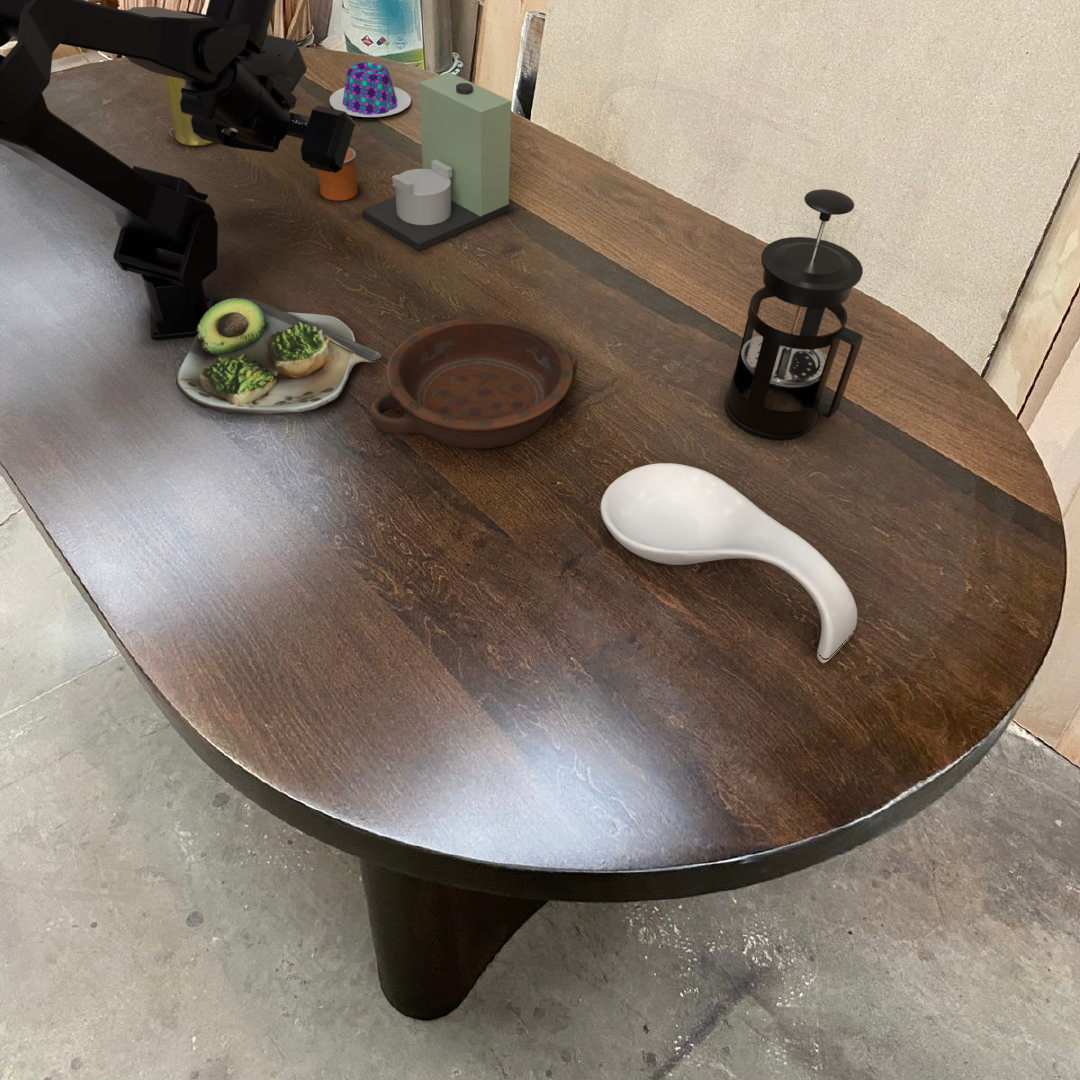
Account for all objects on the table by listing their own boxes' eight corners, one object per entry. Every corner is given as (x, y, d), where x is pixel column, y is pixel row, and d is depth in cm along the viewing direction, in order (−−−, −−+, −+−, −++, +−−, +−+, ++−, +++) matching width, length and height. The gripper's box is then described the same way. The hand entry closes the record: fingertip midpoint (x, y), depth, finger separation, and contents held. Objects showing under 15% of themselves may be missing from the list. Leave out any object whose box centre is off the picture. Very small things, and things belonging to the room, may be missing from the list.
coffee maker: (419, 251, 116) (413, 130, 105) (362, 216, 121) (351, 98, 110) (508, 211, 123) (511, 95, 113) (451, 180, 129) (449, 66, 118)
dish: (620, 425, 95) (626, 385, 92) (417, 497, 87) (415, 455, 83) (532, 333, 105) (534, 293, 102) (342, 390, 97) (337, 348, 93)
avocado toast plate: (395, 325, 105) (392, 288, 102) (363, 431, 93) (359, 393, 89) (218, 310, 105) (210, 272, 102) (164, 414, 93) (152, 375, 89)
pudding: (425, 99, 146) (424, 63, 142) (385, 128, 138) (382, 91, 134) (357, 82, 149) (354, 46, 145) (314, 110, 141) (309, 73, 137)
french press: (700, 408, 98) (747, 194, 81) (748, 368, 103) (802, 158, 86) (802, 461, 93) (874, 245, 76) (847, 416, 98) (924, 204, 81)
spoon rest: (571, 536, 84) (577, 476, 79) (652, 472, 91) (663, 413, 85) (802, 694, 74) (827, 637, 69) (876, 609, 80) (904, 551, 75)
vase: (201, 123, 137) (178, 15, 126) (230, 136, 134) (210, 27, 124) (166, 137, 133) (140, 27, 123) (196, 151, 131) (172, 39, 120)
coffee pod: (366, 194, 125) (363, 157, 121) (331, 205, 122) (326, 167, 119) (346, 178, 127) (342, 141, 124) (311, 188, 125) (306, 151, 122)
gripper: (337, 36, 98) (395, 107, 113) (184, 3, 102) (260, 76, 118) (305, 142, 99) (367, 198, 114) (154, 104, 103) (233, 164, 118)
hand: (306, 156), depth 116 cm, fingers open, 9 cm apart
